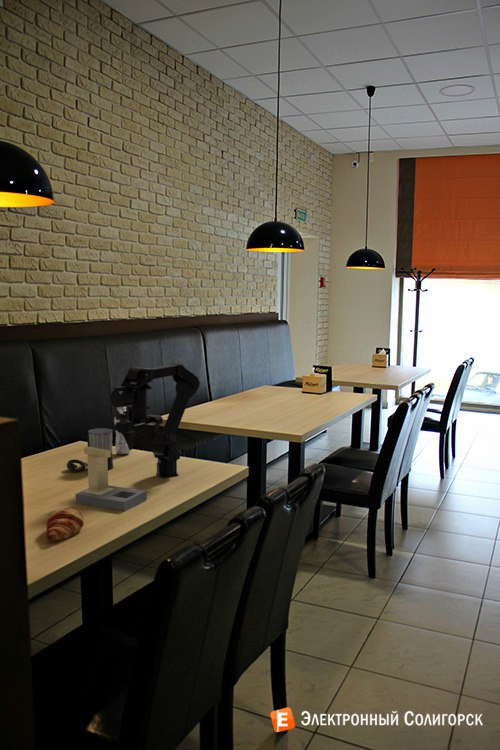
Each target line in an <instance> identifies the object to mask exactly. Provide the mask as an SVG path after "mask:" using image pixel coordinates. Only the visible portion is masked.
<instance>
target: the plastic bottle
mask: <svg viewBox="0 0 500 750" xmlns="http://www.w3.org/2000/svg"><path fill="white" fill-rule="evenodd" d="M116 409H117V410H116V411H118V410H122V411H123V412H125V411H127V406H121V407H116ZM113 422H114V425H115V424H116V423H117V422H120V420H116V417H115V416H114V419H113ZM128 422H131V421H128ZM114 451H115V453H116V454H117V455H123V456H124V455H128V454H130V453H131V450H129V448H128V445H127V443H126V440H125V438H124V436H123V435H122V434H121V433H119V432H118V431H115V446H114Z"/></svg>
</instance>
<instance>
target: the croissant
mask: <svg viewBox="0 0 500 750" xmlns="http://www.w3.org/2000/svg"><path fill="white" fill-rule="evenodd" d="M84 524H85V523H84V519H83V512H82V511H81V510H80V509H79V510H78V509H76V508H64V509H59V510H56V511H54V512H52V513H51V514H50V515H49V516H48V518H47V520H46V532H45V536H46V538H47V539H48V540H50V541H53V542H54V541H61V540H66V539H68V538H69V537H72V536H74V535H75V534H77V532H79V531H80V530H81V529H82V528H83V527H84V526H85V525H84Z"/></svg>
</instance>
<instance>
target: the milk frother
mask: <svg viewBox="0 0 500 750" xmlns="http://www.w3.org/2000/svg"><path fill="white" fill-rule="evenodd" d="M113 431H114V430H113V429H111V428H107V427H105V428H104V427H103V428H102V427H98V428H97V427H96V428H92V429H89V430H88V431H87V432H88V433H87V436H86V437H87V438H86V442H87V447H93V448H99V449H104V450H110V451H111V457H108V458H107V463H108V471H109V470H113V468H114V462H113ZM88 456H89V455H88V454H87V457H88ZM77 464H79V465H80V466H81V467H80V468H78V465H77ZM86 466H87V467H88V463H85V462H84V461H82V460H79V459H70V460H68V461H67V463H66V468H67V470H69V471H71V472H82V471H85V469H86Z"/></svg>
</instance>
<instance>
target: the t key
mask: <svg viewBox="0 0 500 750" xmlns="http://www.w3.org/2000/svg"><path fill="white" fill-rule="evenodd" d="M83 453H84V455H87V464H88V466H87V477H88V481H87V482H88V483H87V484H88V488H89V490H90V491H94V492H98V493H99V492H101V491H104V490H107V489H108V485H109V472H108V471H109V470H108V463H107V458H108V457H111V451H110V450H104V449H99V448H93V447H88V446H86V447H84V448H83ZM88 455H89V456H88Z"/></svg>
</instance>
